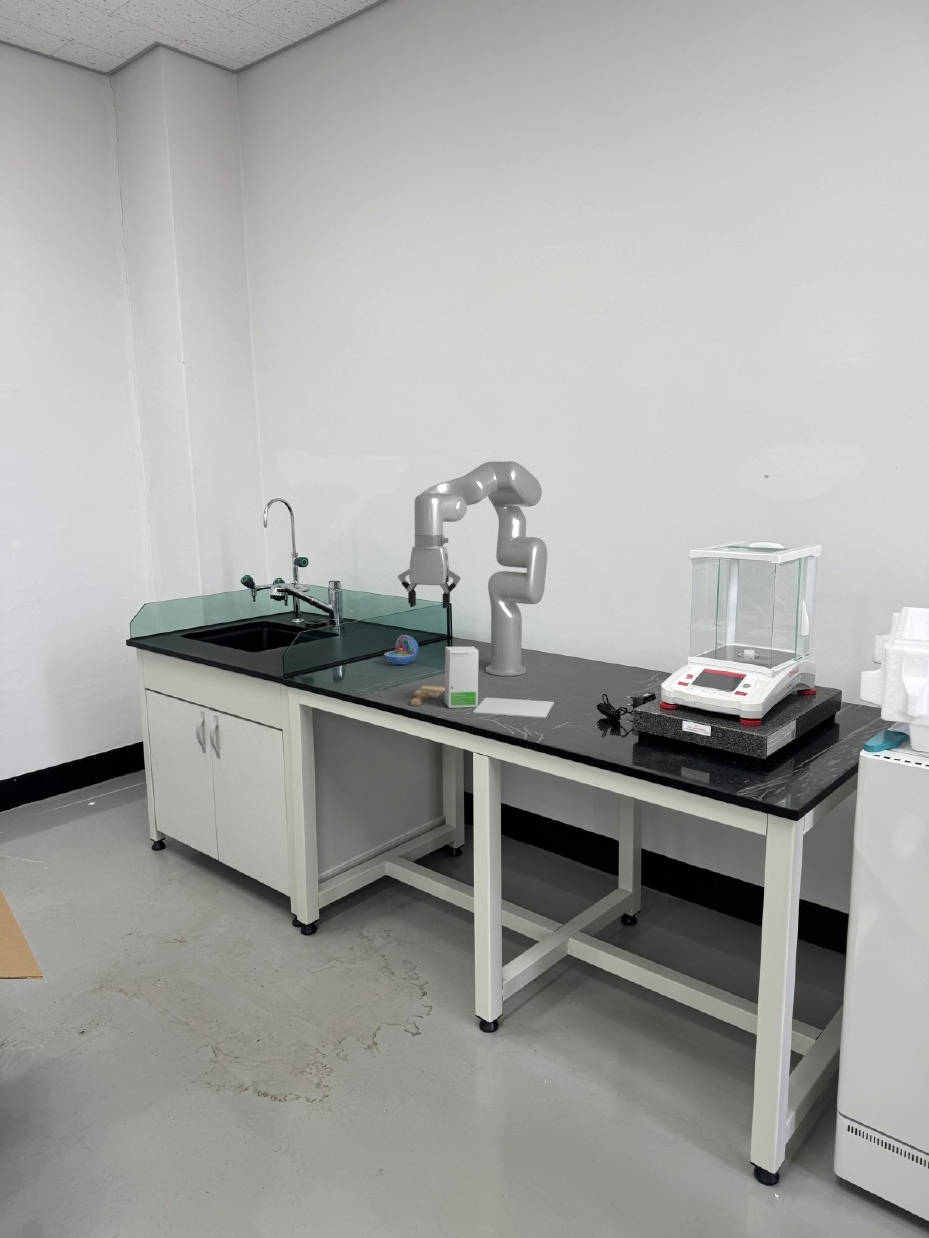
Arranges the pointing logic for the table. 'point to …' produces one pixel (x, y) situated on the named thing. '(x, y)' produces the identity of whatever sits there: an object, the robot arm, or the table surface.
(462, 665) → the skincare box
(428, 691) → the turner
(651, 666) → the table surface
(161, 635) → the table surface
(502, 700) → the mat
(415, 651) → the cell model
